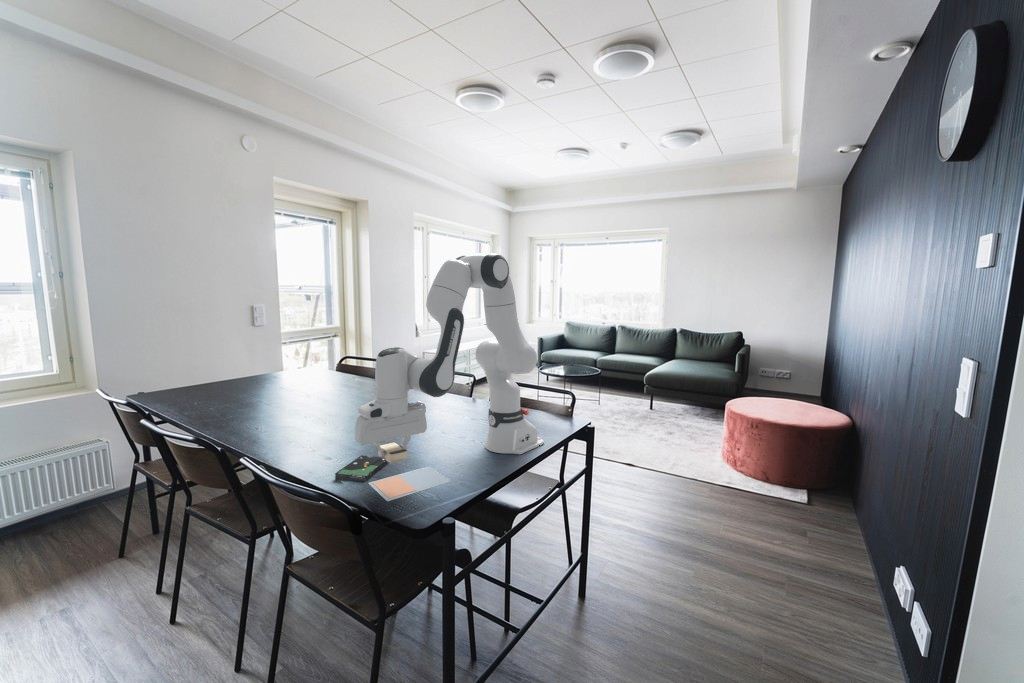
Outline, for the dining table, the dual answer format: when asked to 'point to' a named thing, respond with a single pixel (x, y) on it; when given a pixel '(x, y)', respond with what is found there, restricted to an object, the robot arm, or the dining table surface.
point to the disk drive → (361, 468)
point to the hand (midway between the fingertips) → (392, 453)
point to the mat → (408, 483)
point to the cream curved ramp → (394, 453)
